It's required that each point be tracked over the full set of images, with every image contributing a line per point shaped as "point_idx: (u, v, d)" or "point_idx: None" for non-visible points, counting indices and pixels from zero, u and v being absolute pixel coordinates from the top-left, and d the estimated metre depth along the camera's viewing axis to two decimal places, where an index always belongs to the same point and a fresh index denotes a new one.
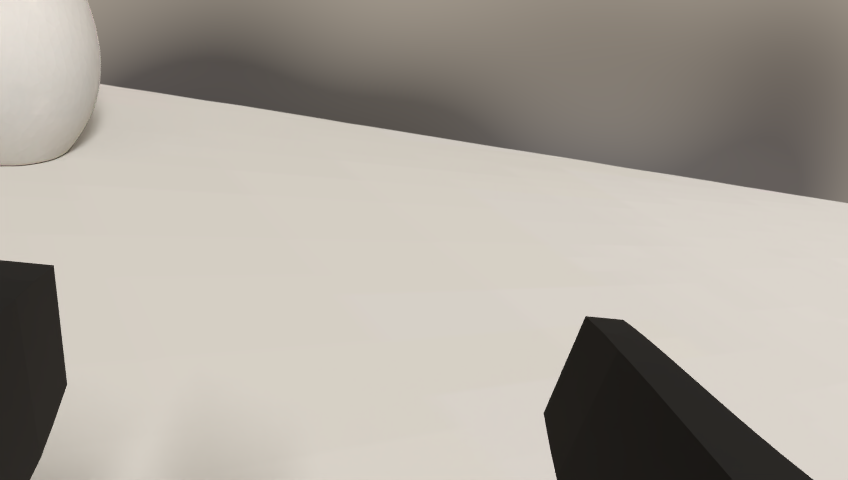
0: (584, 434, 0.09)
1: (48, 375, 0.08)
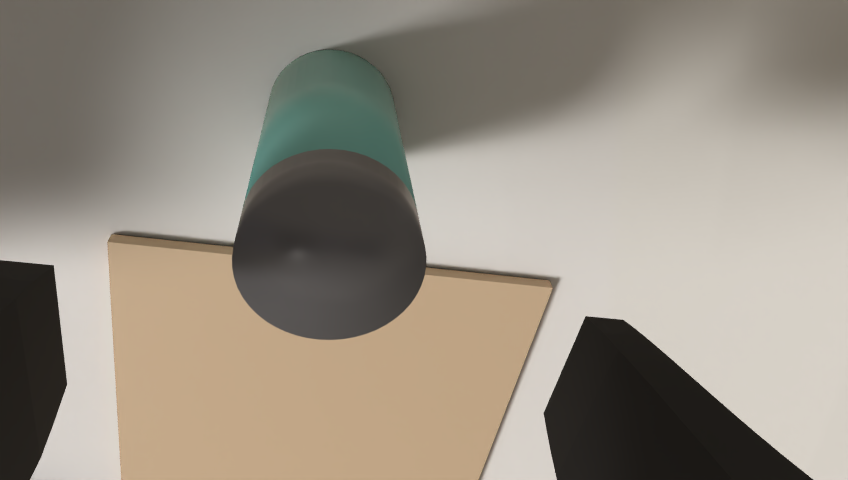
0: (585, 434, 0.09)
1: (48, 375, 0.08)
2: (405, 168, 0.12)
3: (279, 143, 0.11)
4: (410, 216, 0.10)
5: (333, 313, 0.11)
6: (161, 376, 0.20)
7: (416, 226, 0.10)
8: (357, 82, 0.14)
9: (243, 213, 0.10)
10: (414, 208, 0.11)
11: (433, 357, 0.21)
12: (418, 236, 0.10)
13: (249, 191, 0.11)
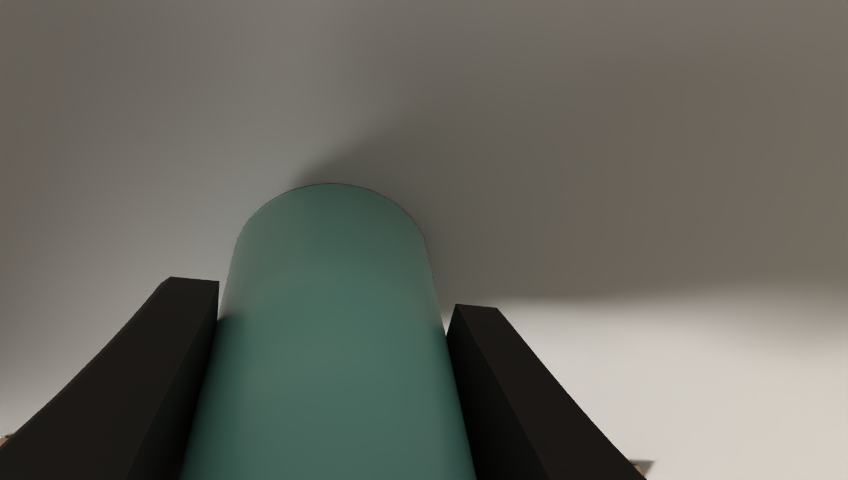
0: None
1: None
2: None
3: (223, 474, 0.06)
4: None
5: None
6: None
7: None
8: (374, 267, 0.08)
9: None
10: None
11: None
12: None
13: None
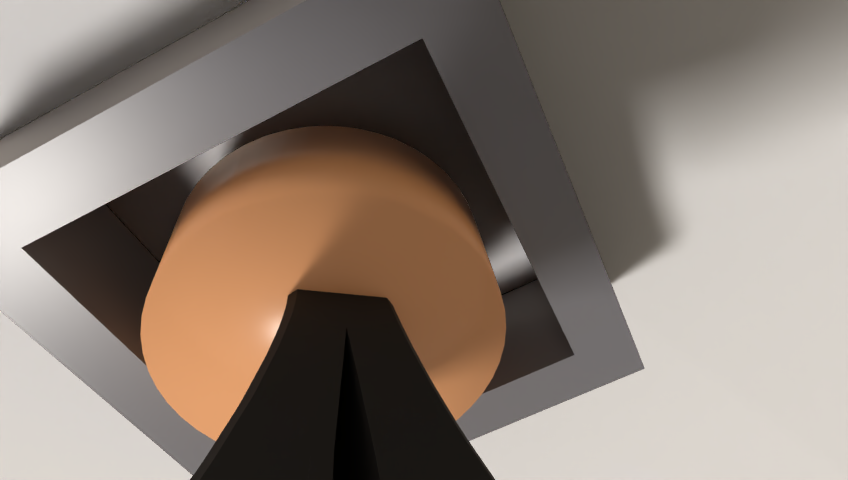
0: None
1: None
2: None
3: None
4: None
5: None
6: None
7: None
8: None
9: None
10: None
11: None
12: None
13: None
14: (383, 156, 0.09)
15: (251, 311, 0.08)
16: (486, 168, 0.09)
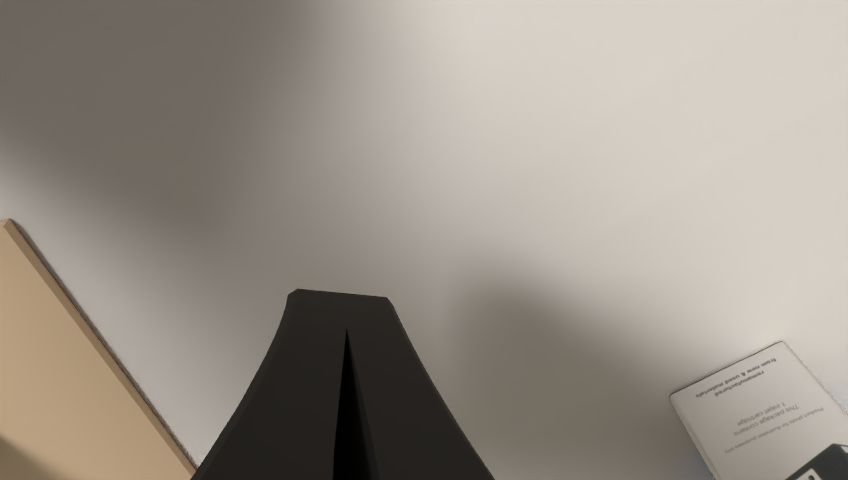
0: None
1: None
2: None
3: None
4: None
5: None
6: None
7: None
8: None
9: None
10: None
11: (86, 474, 0.23)
12: None
13: None
14: None
15: None
16: None
